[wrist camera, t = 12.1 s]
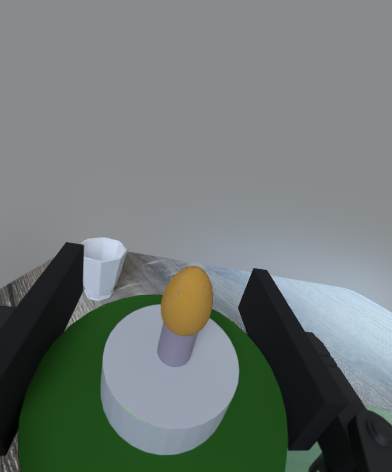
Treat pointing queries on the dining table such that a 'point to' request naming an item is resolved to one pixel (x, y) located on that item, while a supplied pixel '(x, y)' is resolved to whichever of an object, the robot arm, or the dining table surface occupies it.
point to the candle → (154, 391)
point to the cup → (102, 266)
